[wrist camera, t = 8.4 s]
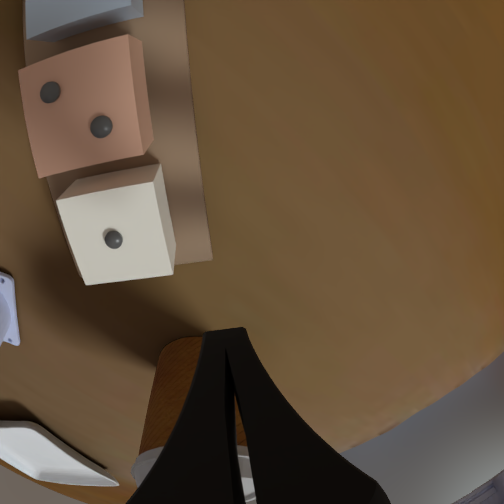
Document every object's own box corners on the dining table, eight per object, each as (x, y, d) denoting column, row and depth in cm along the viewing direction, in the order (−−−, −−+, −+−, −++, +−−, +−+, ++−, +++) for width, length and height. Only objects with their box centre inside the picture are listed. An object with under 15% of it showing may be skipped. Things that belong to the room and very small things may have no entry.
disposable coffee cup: (123, 330, 23) (103, 474, 13) (243, 311, 24) (273, 463, 14) (161, 396, 28) (162, 510, 18) (258, 382, 29) (282, 498, 19)
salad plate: (123, 471, 40) (122, 488, 37) (38, 467, 40) (35, 481, 37) (36, 406, 29) (30, 429, 26) (-42, 406, 29) (-47, 423, 26)
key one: (176, 244, 19) (172, 276, 16) (98, 255, 18) (84, 287, 16) (160, 163, 16) (152, 183, 13) (76, 179, 16) (54, 202, 13)
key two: (153, 139, 14) (142, 156, 12) (63, 159, 14) (36, 180, 11) (142, 41, 12) (126, 33, 9) (47, 68, 11) (15, 70, 9)
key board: (212, 251, 21) (214, 281, 18) (84, 268, 20) (70, 298, 17) (180, -78, 9) (177, -103, 7) (31, -35, 9) (6, -47, 6)
